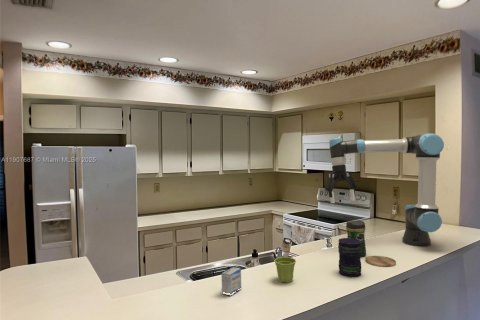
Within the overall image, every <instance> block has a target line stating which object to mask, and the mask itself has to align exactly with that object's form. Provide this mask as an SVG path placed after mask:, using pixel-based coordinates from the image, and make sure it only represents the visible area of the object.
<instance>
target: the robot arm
mask: <svg viewBox="0 0 480 320" xmlns="http://www.w3.org/2000/svg"><path fill="white" fill-rule="evenodd" d="M444 146H445V142H444V140H443V138H442V137H441V136H439V135H438V134H436V133H429V132H428V133H423V134H417V135H413V136H404V137H402V138H401V139H400V138H398V139H397V138H396V139H395V138H394V139H371V140H369V139H368V140H366V139H365V140H364V139H361V138H360V139H350V140H343V138H342V137H335V138H331V139H330V140H329V153H330V161H331V162H330V163H331V165H332V166H331V171H332V173H333V174H332V173H329V174H328V175H327V176H328V179H327V182H326V185H325V189H324V190H325V191H326V192H328V197H329V198H330V199H329V200H330V204H335V193H334V191H333V190H334V189H335V186H336V185H337V183H338V182H344V183H345V184H346V186H348V187H349V195H350V201H351V202H353V201H354V202H355V201H356V199H355V198H356V197H355V195H356V191H355V190H356V189H358V185H357V183H356V181H355V180H354V177H353V176H352V173H351V172H347V167H346V166H347V165H346V160H345V159H346V158H345V155H347V154H366V153H399V152H400V153H403V154H414V155H415V159H416V160H418V161H417V162H418V175H417V176H418V177H417V178H418V179H417V180H418V181H417V184H418V185H417V186H418V187H417V203H416V204H406V205H405V208H404V213H405V214H404V215H405V224H404V225H405V229H404V232H403V236H402V243H403V244H405V245H409V246H414V247H415V246H417V247H428V246H429V247H430V246H431V245H432V239H431V237H430V235H429V233H434V232H436V231H438V230H439V229H440V228H441V227H442V224H443V219H442V217H441V216H440V214H439V209H440V208H439V207H438V205H437V204H436V198H437V197H436V194H437V193H436V192H437V162H438V161H439V160H440V158H441V152H442V151H443V150H444Z"/></svg>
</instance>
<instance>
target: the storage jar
mask: <svg viewBox="0 0 480 320" xmlns="http://www.w3.org/2000/svg"><path fill="white" fill-rule="evenodd" d="M337 248H338V257H339V259H338V269H339V270H338V274H339V275H340V276H343V277H346V278H359V277H361V276H362V262H361V261H362V260H361V258H362V257H360V254H361V241H360V240H358V239H353V238H347V237H342V238H339V239H338V247H337Z"/></svg>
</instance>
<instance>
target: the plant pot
mask: <svg viewBox="0 0 480 320" xmlns="http://www.w3.org/2000/svg"><path fill="white" fill-rule="evenodd" d="M273 262H274V264H275V266H276V272H277V278H278V279H277V280H278V281H279V282H280V281H281V282H280V283H291V282H293V279H294V271H295V265H296V263H297V260H296V258H294V257H287V256H280V257H276V258H275V259H274V260H273Z"/></svg>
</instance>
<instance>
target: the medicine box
mask: <svg viewBox="0 0 480 320" xmlns="http://www.w3.org/2000/svg"><path fill="white" fill-rule="evenodd" d="M240 288H241V289H242V268H240V267H234V266H232V267H230V268H229V269H227V270H225V271H223V272H221V293H222V292H225V293H230V294H232V293H233V292H235V291H237V290H238V289H240Z"/></svg>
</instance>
